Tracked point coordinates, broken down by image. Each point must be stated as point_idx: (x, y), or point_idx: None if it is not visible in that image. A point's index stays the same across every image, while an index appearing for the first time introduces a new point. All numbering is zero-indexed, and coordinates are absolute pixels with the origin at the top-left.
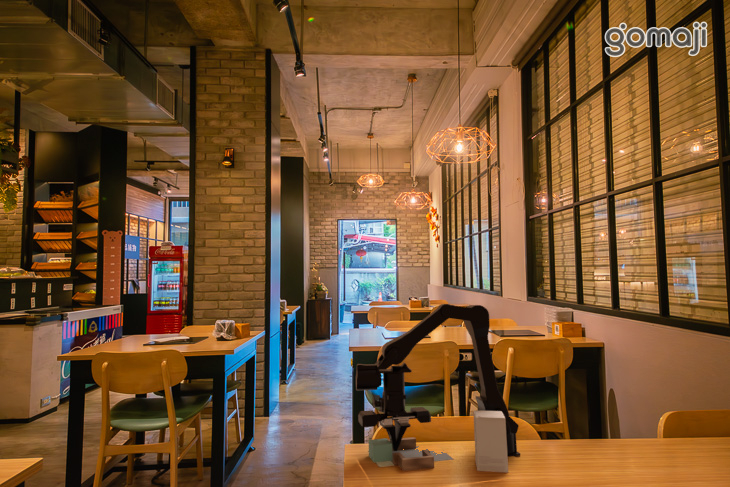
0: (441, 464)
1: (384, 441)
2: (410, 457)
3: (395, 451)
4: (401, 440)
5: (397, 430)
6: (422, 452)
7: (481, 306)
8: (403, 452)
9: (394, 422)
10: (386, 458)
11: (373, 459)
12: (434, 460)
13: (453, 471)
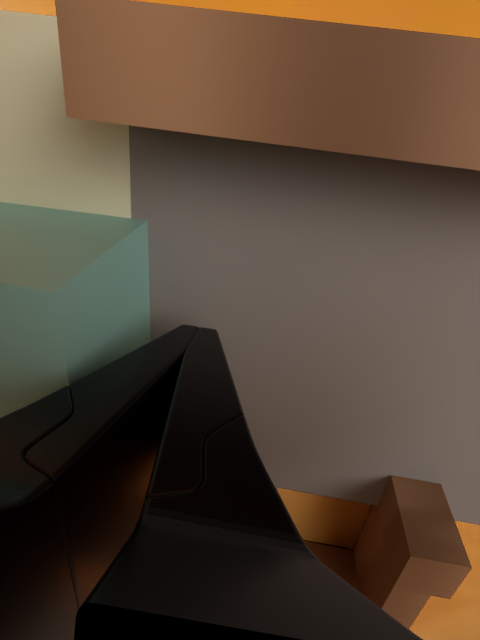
0: (476, 547)
1: (6, 406)
2: (333, 394)
3: (272, 184)
4: (415, 159)
5: (143, 632)
6: (403, 536)
7: None
8: (346, 252)
9: (90, 612)
10: None
11: None
12: (473, 513)
13: (453, 623)
